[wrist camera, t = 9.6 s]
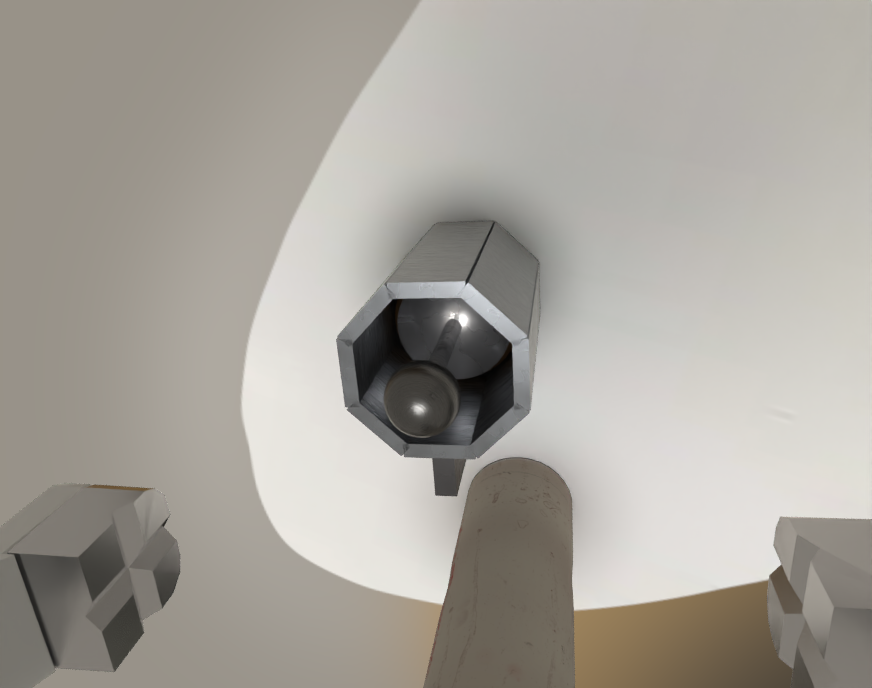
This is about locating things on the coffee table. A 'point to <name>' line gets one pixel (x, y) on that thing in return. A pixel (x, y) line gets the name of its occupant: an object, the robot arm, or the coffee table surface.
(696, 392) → the coffee table surface
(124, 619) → the robot arm
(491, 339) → the plunger
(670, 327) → the coffee table surface
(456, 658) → the thermos bottle
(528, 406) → the octagonal steel cup
